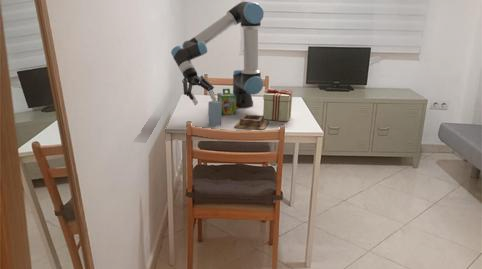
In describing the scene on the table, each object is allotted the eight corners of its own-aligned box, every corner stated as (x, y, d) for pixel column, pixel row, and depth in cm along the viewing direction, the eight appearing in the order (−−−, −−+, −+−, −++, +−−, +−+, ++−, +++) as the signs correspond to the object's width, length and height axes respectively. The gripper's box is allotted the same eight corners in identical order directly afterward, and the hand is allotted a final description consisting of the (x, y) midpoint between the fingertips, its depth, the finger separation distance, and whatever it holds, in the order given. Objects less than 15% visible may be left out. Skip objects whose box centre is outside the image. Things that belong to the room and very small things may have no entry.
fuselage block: (208, 124, 242) (208, 101, 238) (214, 123, 245) (215, 100, 241) (214, 126, 238) (214, 103, 235) (221, 125, 242) (221, 102, 238)
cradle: (234, 127, 238) (234, 119, 236) (241, 120, 252) (241, 112, 251) (263, 130, 234) (264, 122, 233) (268, 122, 249) (269, 115, 248)
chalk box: (221, 115, 261) (222, 91, 257) (216, 111, 269) (216, 87, 265) (236, 114, 265) (236, 90, 260) (230, 110, 273) (231, 87, 268)
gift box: (291, 114, 269) (293, 86, 264) (289, 122, 252) (291, 92, 246) (264, 112, 271) (265, 84, 266) (260, 120, 254) (261, 90, 249)
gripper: (201, 72, 258) (218, 102, 253) (167, 77, 240) (185, 109, 235) (208, 64, 253) (225, 95, 248) (173, 68, 235) (191, 101, 230)
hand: (205, 102), depth 241 cm, fingers open, 13 cm apart
